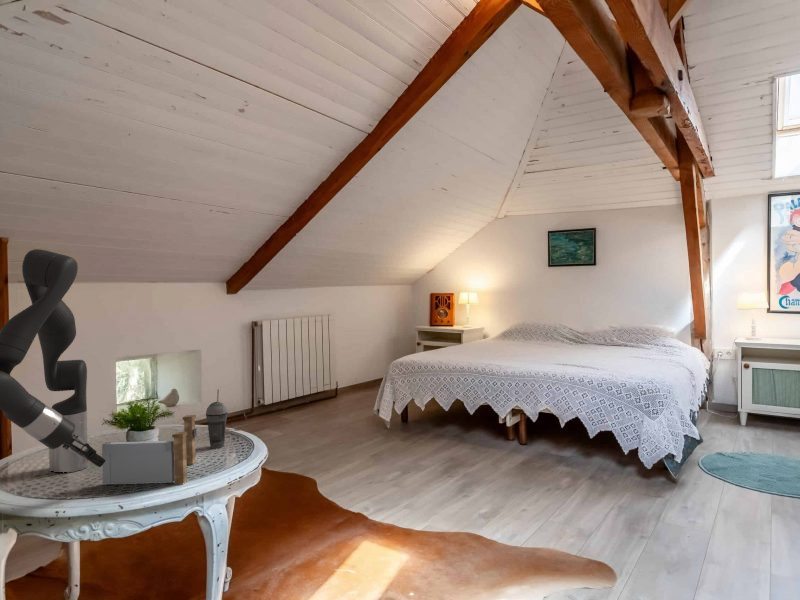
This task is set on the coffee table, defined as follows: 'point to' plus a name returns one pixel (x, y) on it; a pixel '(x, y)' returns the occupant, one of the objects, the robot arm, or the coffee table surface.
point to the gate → (138, 462)
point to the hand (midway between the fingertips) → (102, 463)
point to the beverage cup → (216, 423)
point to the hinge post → (180, 457)
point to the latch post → (190, 438)
